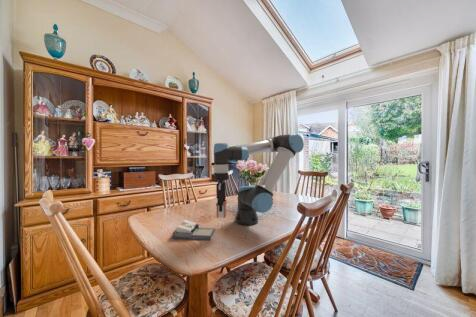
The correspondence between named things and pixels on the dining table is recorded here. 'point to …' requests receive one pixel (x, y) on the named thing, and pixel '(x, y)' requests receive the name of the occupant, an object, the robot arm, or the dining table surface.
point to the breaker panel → (195, 234)
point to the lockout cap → (224, 209)
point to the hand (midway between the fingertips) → (221, 215)
